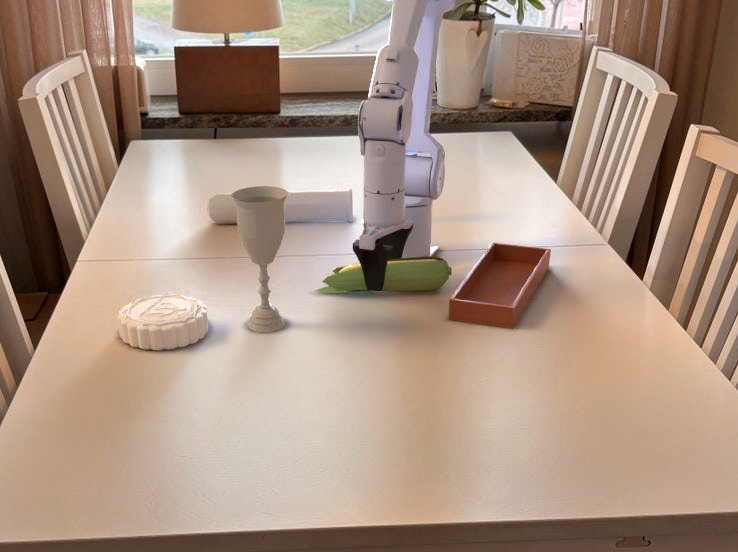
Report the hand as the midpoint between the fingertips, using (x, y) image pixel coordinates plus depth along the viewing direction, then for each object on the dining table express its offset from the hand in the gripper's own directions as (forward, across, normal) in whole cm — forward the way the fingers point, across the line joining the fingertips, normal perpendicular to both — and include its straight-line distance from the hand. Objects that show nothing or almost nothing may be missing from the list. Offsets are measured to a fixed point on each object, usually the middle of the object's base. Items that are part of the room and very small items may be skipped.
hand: (382, 281), depth 151 cm
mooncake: (+2, -24, +23) cm, 33 cm away
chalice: (+2, -17, +11) cm, 20 cm away
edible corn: (+2, 0, 0) cm, 2 cm away
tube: (+2, +24, +27) cm, 36 cm away
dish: (+1, +5, -16) cm, 17 cm away
